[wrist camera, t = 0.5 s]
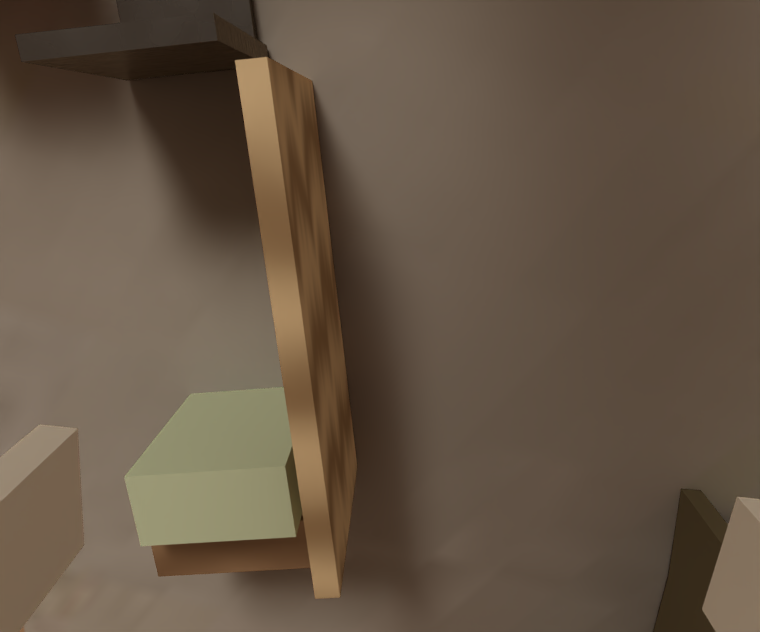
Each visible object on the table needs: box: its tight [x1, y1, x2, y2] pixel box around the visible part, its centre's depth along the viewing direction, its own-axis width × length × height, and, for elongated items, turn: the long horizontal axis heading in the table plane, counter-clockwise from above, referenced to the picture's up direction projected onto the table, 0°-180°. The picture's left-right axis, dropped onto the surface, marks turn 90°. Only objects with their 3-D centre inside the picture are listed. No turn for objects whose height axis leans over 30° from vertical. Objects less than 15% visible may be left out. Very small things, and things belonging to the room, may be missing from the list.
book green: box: [124, 387, 302, 546], centre depth 36 cm, size 4×8×10 cm, turn 95°
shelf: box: [152, 57, 357, 599], centre depth 32 cm, size 25×11×12 cm, turn 5°
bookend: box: [15, 0, 268, 80], centre depth 29 cm, size 5×8×10 cm, turn 95°
